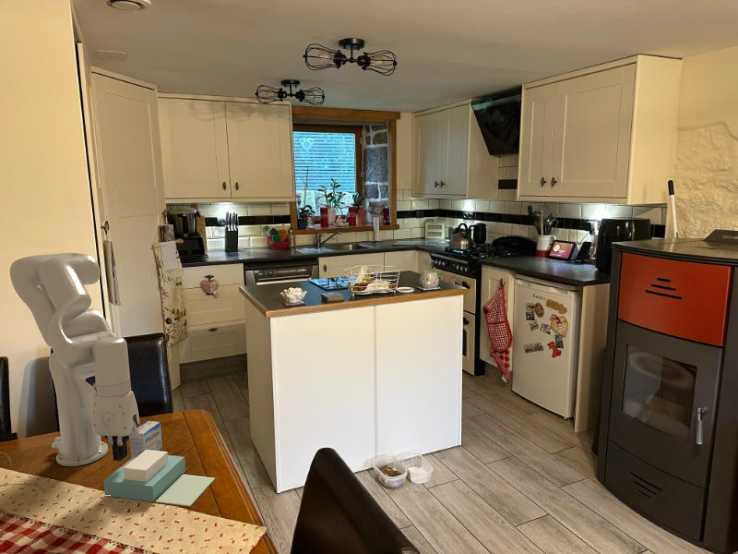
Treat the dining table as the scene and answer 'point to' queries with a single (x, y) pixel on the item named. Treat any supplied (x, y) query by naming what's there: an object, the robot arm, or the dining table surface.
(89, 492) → the dining table surface
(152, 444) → the medicine box
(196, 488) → the mat
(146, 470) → the white rectangular block
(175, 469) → the block
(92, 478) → the dining table surface
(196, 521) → the dining table surface
